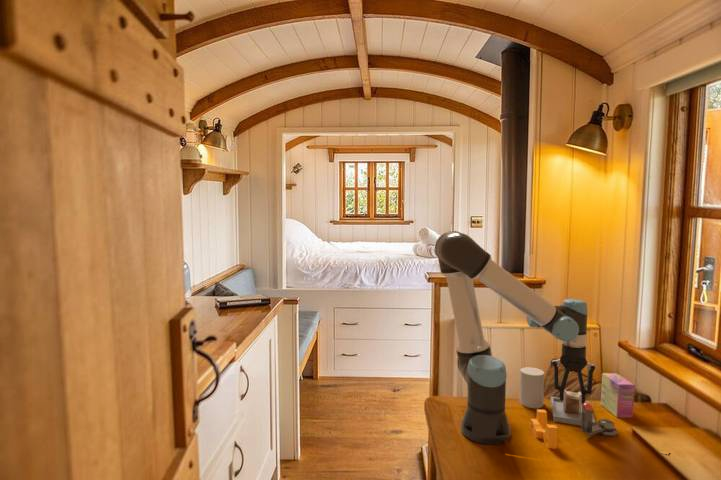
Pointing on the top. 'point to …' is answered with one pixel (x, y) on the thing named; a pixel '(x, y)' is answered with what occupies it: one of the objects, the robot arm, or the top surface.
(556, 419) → the tray
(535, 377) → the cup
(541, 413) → the orange stepped block
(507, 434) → the robot arm
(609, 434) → the crank base
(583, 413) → the crank
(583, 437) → the top surface
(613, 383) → the box
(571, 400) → the stop block
